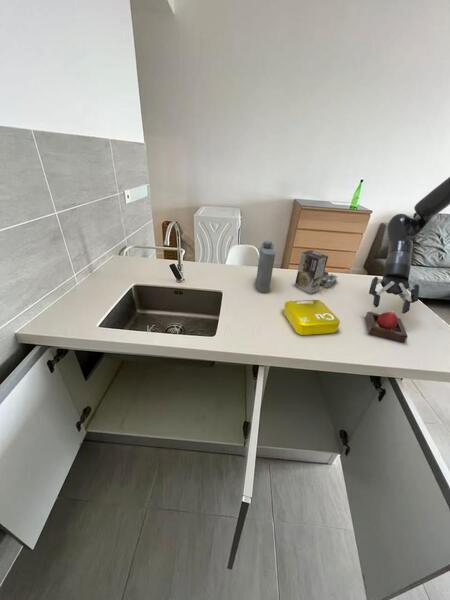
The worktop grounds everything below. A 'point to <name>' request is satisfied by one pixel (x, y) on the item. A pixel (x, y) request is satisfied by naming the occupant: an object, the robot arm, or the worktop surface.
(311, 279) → the coffee box
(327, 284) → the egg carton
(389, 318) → the onion
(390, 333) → the tray
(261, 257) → the flask
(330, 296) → the worktop surface
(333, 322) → the element tile
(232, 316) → the worktop surface
